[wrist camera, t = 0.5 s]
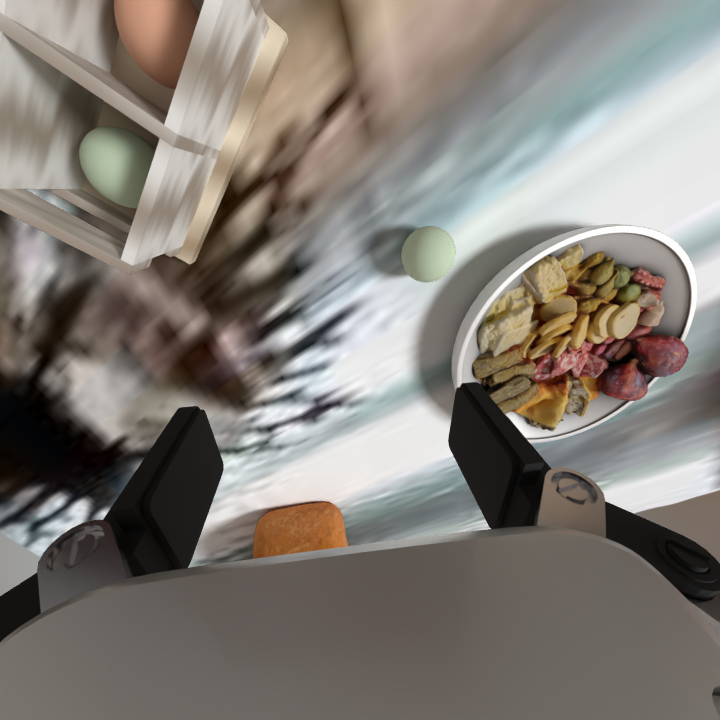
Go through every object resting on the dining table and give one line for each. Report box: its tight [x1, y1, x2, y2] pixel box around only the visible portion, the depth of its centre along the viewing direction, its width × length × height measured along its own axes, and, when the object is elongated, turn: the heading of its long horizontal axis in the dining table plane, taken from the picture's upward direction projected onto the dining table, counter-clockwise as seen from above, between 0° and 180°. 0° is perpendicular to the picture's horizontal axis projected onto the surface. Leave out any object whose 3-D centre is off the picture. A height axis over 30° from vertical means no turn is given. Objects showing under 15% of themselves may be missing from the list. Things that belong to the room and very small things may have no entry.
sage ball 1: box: [79, 126, 156, 208], centre depth 24 cm, size 6×6×6 cm
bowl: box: [452, 224, 697, 443], centre depth 39 cm, size 30×30×8 cm
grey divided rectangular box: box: [0, 0, 288, 275], centre depth 22 cm, size 21×12×10 cm, turn 146°
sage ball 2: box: [401, 226, 456, 282], centre depth 32 cm, size 6×6×6 cm
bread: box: [253, 502, 349, 559], centre depth 52 cm, size 16×26×17 cm, turn 5°
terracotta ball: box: [114, 0, 200, 89], centre depth 21 cm, size 6×6×6 cm
